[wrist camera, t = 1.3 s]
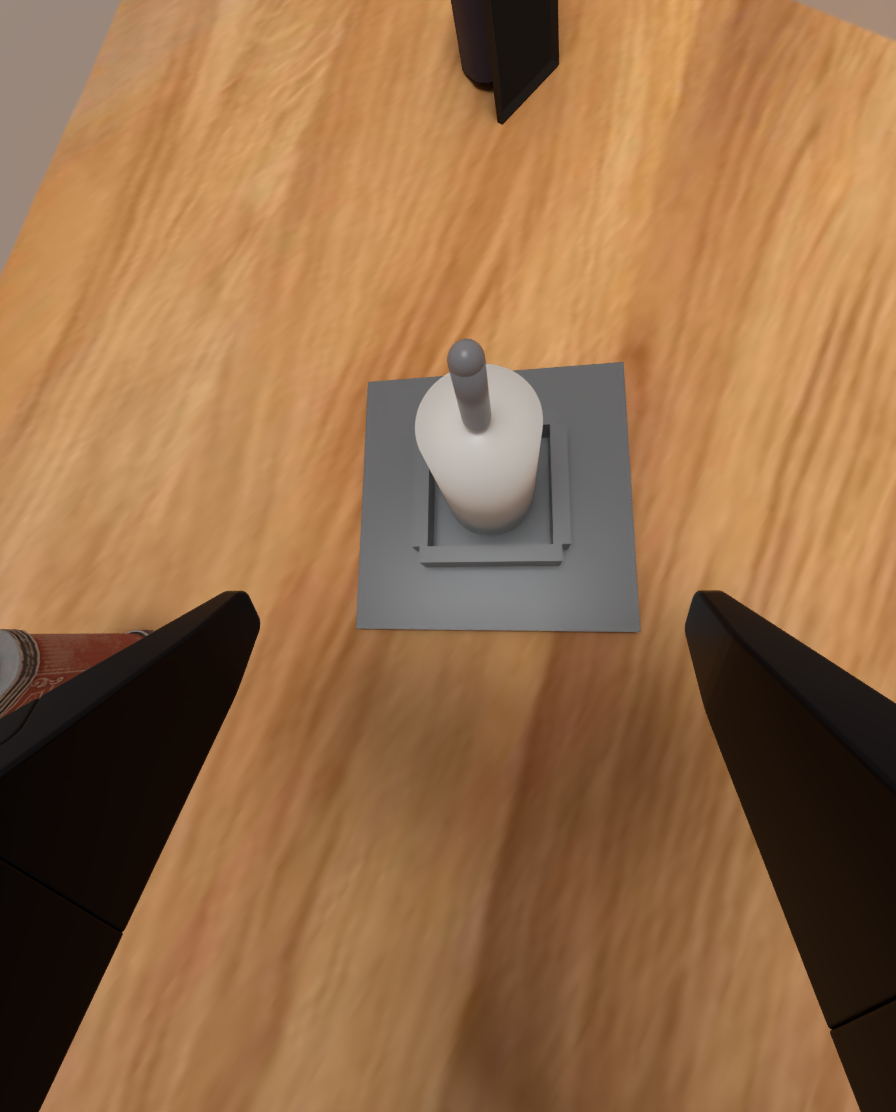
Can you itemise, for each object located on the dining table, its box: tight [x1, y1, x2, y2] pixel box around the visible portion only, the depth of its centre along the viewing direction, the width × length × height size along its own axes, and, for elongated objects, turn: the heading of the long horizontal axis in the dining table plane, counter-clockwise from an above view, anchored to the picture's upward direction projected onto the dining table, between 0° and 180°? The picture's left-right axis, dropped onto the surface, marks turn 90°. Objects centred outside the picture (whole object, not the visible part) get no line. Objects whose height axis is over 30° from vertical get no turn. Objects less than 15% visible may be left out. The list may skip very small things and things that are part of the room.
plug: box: [415, 339, 543, 536], centre depth 17 cm, size 4×4×12 cm
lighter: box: [0, 629, 154, 718], centre depth 20 cm, size 8×3×10 cm, turn 127°
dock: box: [356, 362, 640, 632], centre depth 22 cm, size 14×14×2 cm
